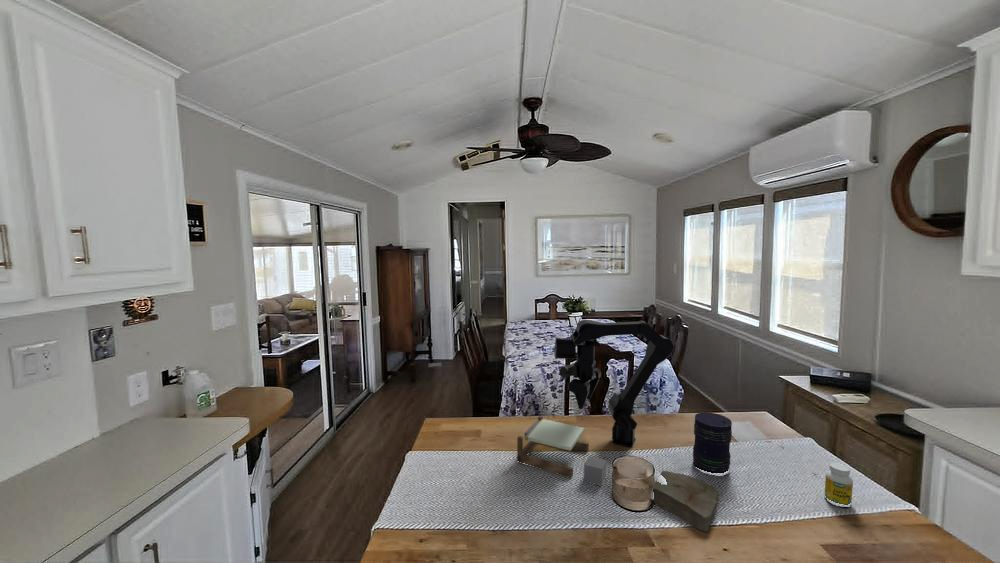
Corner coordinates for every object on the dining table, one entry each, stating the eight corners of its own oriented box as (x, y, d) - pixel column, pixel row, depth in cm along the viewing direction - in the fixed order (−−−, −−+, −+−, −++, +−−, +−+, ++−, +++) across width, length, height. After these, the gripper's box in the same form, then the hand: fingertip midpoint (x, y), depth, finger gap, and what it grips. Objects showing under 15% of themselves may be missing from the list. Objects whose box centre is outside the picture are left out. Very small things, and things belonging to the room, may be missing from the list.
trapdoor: (521, 439, 123) (521, 435, 123) (539, 421, 135) (539, 417, 135) (570, 451, 116) (570, 447, 116) (584, 431, 128) (584, 427, 128)
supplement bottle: (844, 497, 105) (847, 463, 104) (855, 510, 100) (858, 474, 99) (820, 494, 107) (822, 459, 106) (829, 506, 102) (832, 470, 101)
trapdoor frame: (517, 462, 123) (517, 437, 122) (539, 438, 138) (539, 415, 137) (571, 477, 114) (572, 451, 114) (588, 450, 130) (588, 426, 129)
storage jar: (687, 467, 119) (689, 419, 118) (698, 455, 127) (700, 409, 125) (724, 481, 113) (727, 430, 111) (733, 466, 120) (736, 418, 119)
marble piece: (707, 535, 92) (708, 518, 92) (643, 509, 101) (644, 493, 101) (722, 499, 105) (722, 484, 105) (664, 479, 114) (664, 465, 114)
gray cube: (605, 476, 115) (606, 460, 115) (601, 486, 111) (602, 469, 110) (588, 472, 117) (589, 456, 117) (583, 481, 113) (584, 464, 113)
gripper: (570, 349, 145) (570, 390, 147) (552, 362, 129) (552, 409, 130) (601, 353, 140) (600, 396, 141) (586, 367, 123) (585, 416, 125)
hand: (584, 403), depth 135 cm, fingers open, 9 cm apart
